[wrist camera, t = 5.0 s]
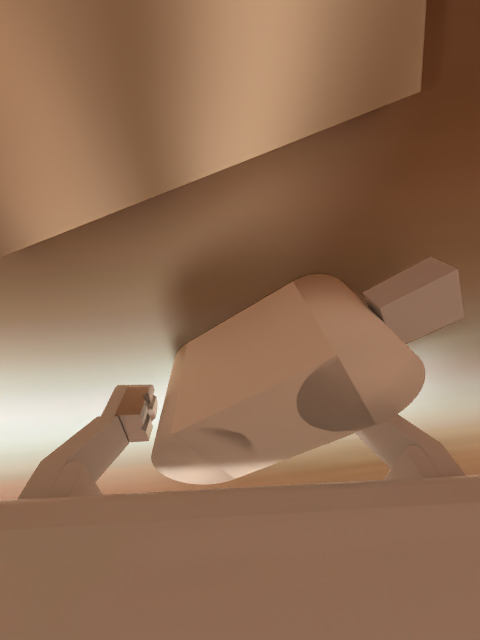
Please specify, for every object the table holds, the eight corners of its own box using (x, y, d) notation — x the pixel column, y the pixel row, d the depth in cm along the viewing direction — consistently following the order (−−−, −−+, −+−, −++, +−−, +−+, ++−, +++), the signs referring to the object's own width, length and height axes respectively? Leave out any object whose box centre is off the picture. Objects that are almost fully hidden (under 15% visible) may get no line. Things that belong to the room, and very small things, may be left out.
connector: (204, 399, 15) (197, 493, 11) (157, 360, 13) (127, 455, 9) (412, 295, 12) (518, 370, 8) (393, 222, 10) (521, 268, 6)
